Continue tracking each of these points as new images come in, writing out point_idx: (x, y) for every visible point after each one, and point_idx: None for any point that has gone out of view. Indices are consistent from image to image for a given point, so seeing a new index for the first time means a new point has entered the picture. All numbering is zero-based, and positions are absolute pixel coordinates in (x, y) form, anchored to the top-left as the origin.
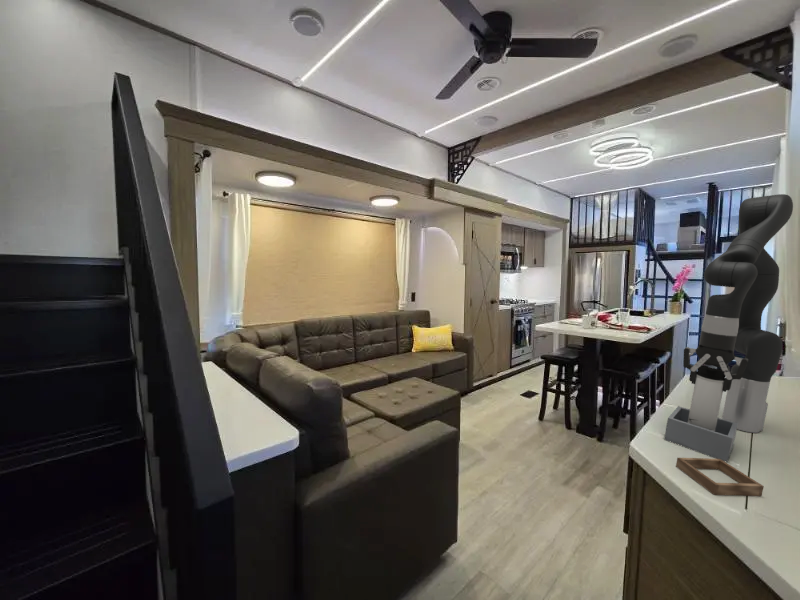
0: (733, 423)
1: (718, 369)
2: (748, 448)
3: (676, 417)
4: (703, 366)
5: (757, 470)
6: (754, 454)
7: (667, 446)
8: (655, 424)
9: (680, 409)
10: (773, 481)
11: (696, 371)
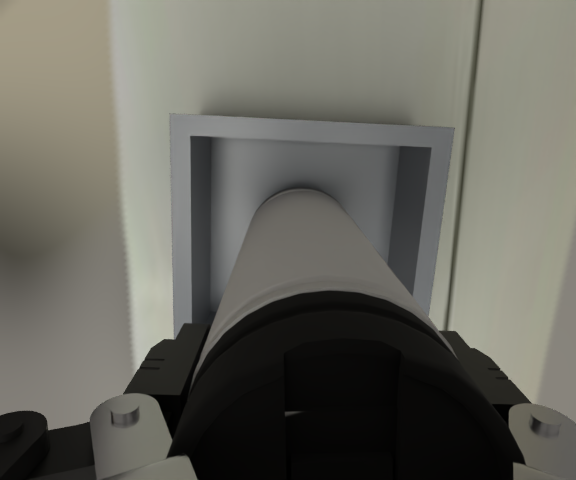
0: (434, 152)
1: (425, 437)
2: (464, 104)
3: (197, 247)
4: (220, 458)
5: (470, 305)
6: (478, 155)
7: None
8: (133, 178)
9: (191, 161)
10: (503, 348)
11: (172, 428)
